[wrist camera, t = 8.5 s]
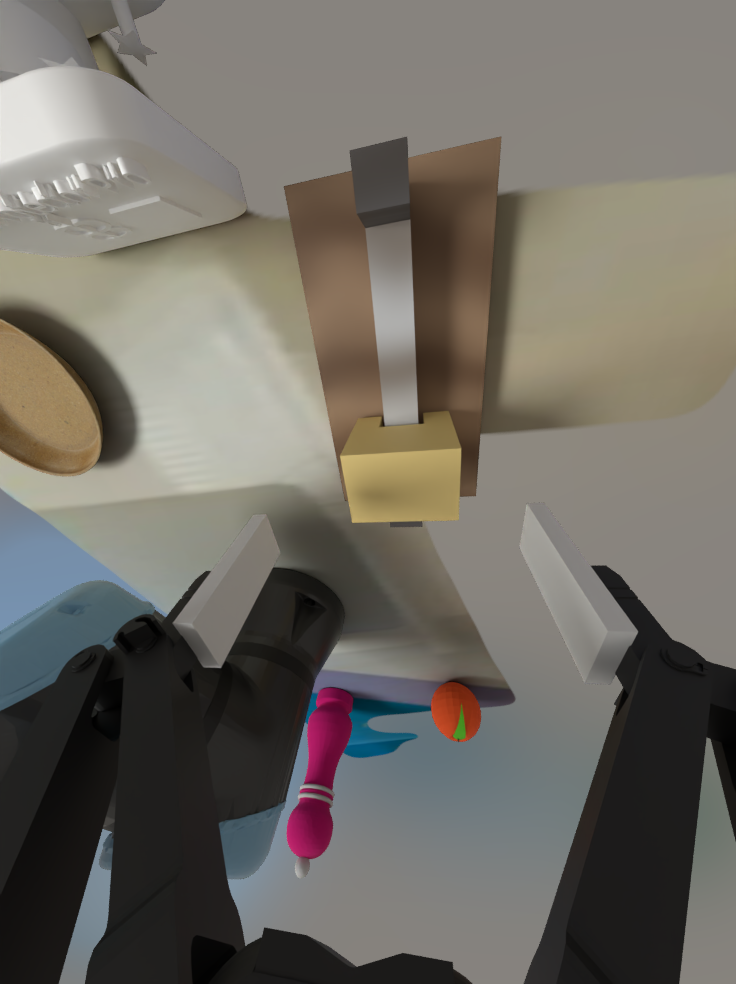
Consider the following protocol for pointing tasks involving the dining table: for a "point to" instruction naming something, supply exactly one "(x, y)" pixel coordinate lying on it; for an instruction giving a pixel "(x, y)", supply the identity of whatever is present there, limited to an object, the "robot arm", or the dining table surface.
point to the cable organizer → (94, 140)
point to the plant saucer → (45, 408)
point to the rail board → (436, 291)
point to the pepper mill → (319, 777)
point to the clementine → (456, 711)
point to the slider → (403, 470)
